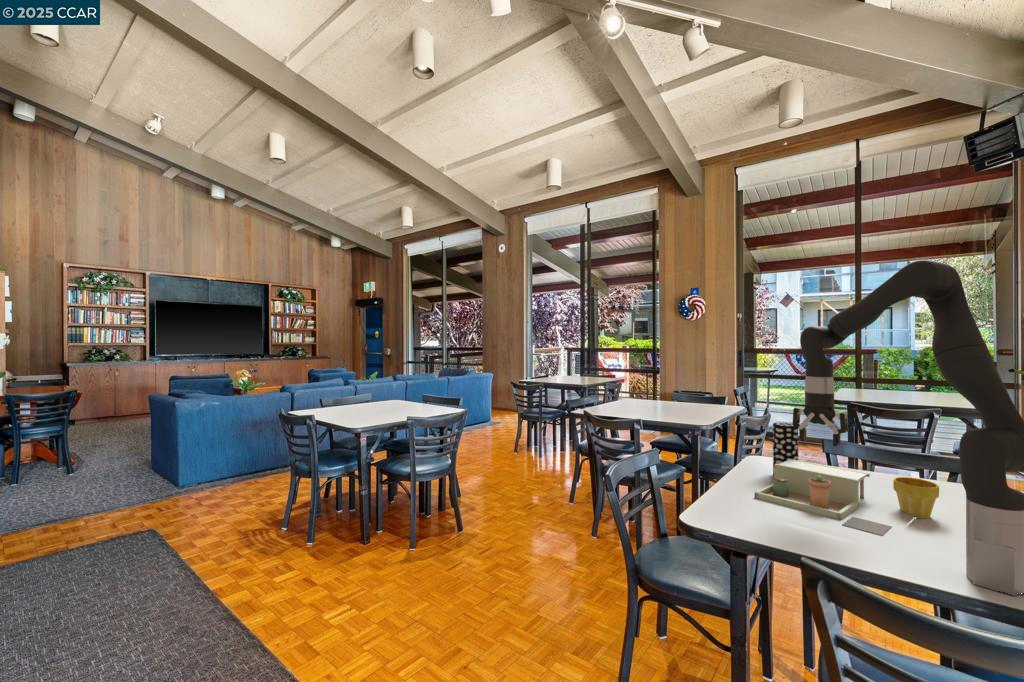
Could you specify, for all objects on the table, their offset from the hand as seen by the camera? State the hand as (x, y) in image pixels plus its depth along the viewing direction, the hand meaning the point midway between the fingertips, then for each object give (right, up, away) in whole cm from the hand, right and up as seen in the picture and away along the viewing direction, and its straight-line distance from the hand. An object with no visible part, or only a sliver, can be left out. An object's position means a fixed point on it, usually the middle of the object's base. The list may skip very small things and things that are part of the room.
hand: (819, 443), depth 142 cm
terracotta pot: (0, -20, 0) cm, 20 cm away
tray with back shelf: (+3, -20, +8) cm, 22 cm away
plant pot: (+26, -20, -4) cm, 33 cm away
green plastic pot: (-5, -20, +11) cm, 23 cm away
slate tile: (+3, -20, -15) cm, 25 cm away
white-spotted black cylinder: (+10, -20, +34) cm, 41 cm away
